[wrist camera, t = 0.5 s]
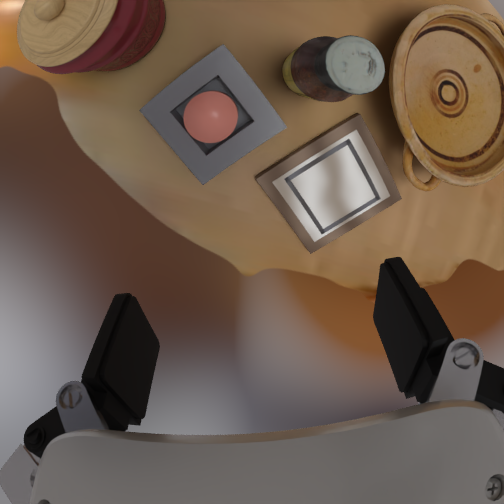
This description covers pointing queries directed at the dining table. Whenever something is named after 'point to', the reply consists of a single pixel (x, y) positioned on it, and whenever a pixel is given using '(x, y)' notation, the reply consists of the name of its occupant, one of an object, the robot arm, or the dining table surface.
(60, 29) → the canister
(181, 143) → the button housing
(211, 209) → the dining table surface
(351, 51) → the sauce bottle
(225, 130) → the button
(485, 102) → the ceramic bowl
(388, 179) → the pad
